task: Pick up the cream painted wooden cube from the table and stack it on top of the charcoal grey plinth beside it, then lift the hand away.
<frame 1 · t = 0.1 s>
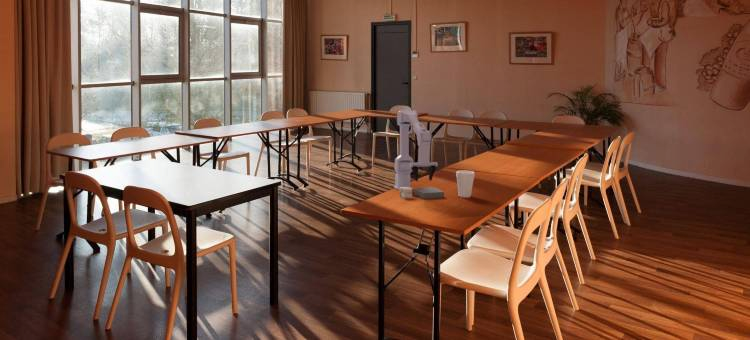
hand: (423, 180, 342), 10 cm above the table, fingers open, 7 cm apart
cream cube: (405, 197, 348), on the table
charcoal plinth: (428, 195, 352), on the table
foam cup: (464, 196, 352), on the table
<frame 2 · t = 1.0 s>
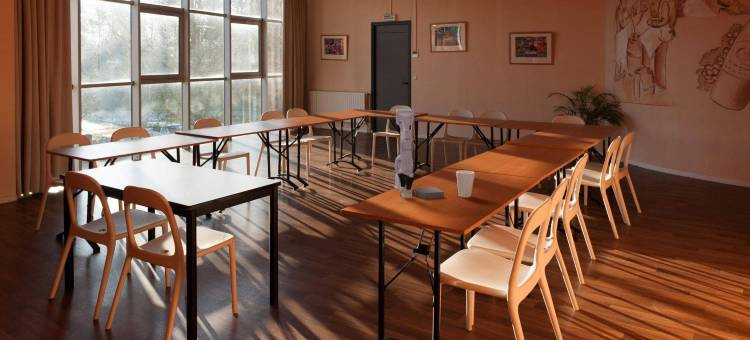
hand: (405, 188, 347), 5 cm above the table, fingers open, 7 cm apart
nothing on the table moved.
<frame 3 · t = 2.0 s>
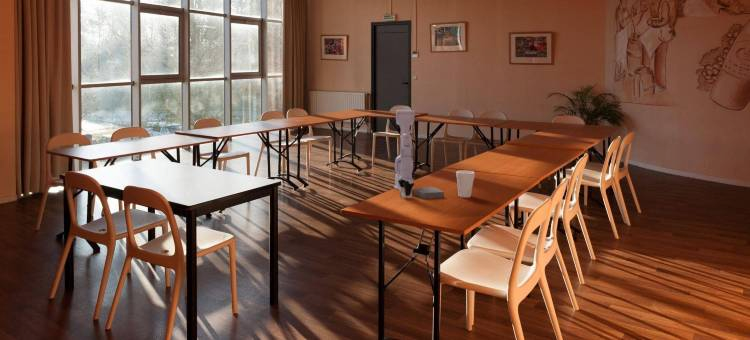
hand: (405, 194, 348), 1 cm above the table, fingers closed on cream cube, 5 cm apart
cream cube: (405, 197, 348), on the table, touching gripper
everything else where it was.
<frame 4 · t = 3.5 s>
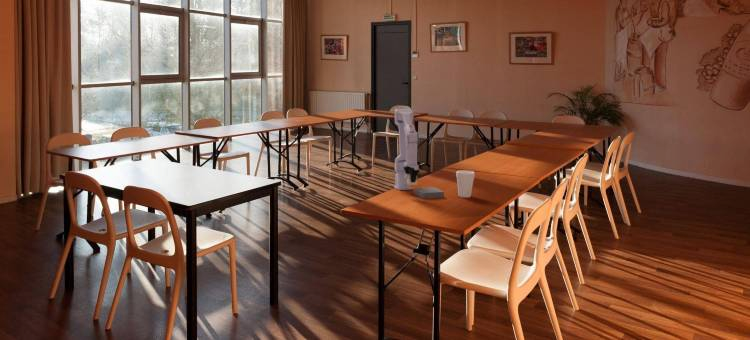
hand: (411, 181, 347), 8 cm above the table, fingers closed on cream cube, 5 cm apart
cream cube: (410, 183, 348), point 7 cm above the table, touching gripper
everything else where it was.
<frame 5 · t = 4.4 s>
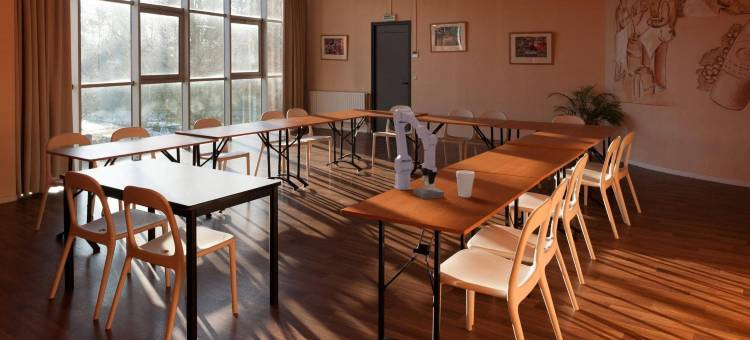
hand: (429, 183, 351), 7 cm above the table, fingers closed on cream cube, 5 cm apart
cream cube: (428, 185, 351), point 5 cm above the table, touching gripper
everything else where it was.
when the fingers open (5 cm above the table, at t = 5.1 s): cream cube stays where it is, resting on charcoal plinth.
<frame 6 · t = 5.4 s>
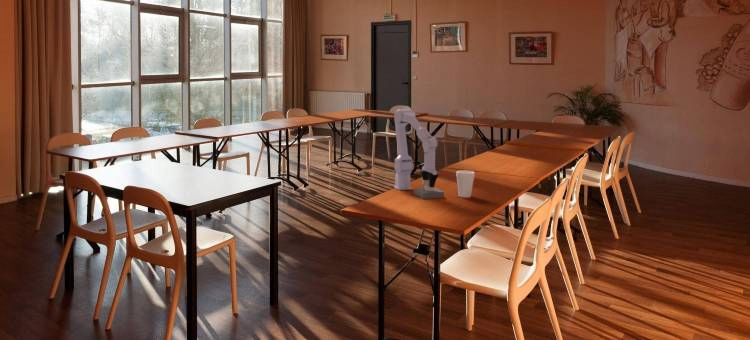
hand: (428, 185, 351), 5 cm above the table, fingers open, 7 cm apart
cream cube: (428, 190, 351), point 3 cm above the table, touching charcoal plinth
everything else where it was.
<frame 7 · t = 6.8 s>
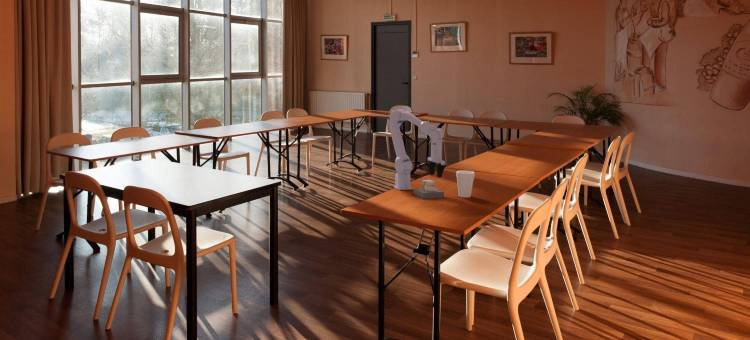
hand: (435, 176, 356), 9 cm above the table, fingers open, 7 cm apart
nothing on the table moved.
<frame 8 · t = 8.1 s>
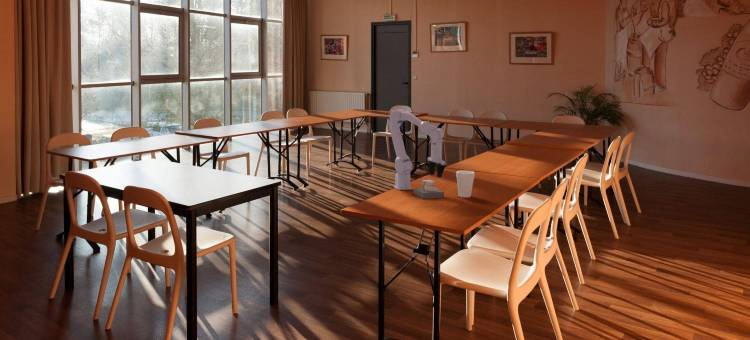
hand: (435, 176, 356), 9 cm above the table, fingers open, 7 cm apart
nothing on the table moved.
at the end: cream cube inside the target area on the charcoal plinth (0.3 cm from its centre), point 3.0 cm above the charcoal plinth's base; cream cube tilted 0°; cream cube touching charcoal plinth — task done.
